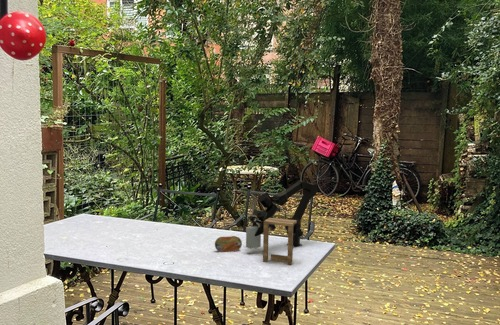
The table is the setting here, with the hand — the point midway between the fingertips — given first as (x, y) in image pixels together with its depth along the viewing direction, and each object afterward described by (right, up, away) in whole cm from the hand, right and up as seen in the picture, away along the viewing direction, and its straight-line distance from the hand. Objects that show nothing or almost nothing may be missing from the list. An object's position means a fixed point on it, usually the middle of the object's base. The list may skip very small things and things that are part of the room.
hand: (252, 235), depth 252 cm
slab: (0, -7, +1) cm, 7 cm away
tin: (-14, -10, +4) cm, 17 cm away
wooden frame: (+14, -12, -12) cm, 21 cm away
